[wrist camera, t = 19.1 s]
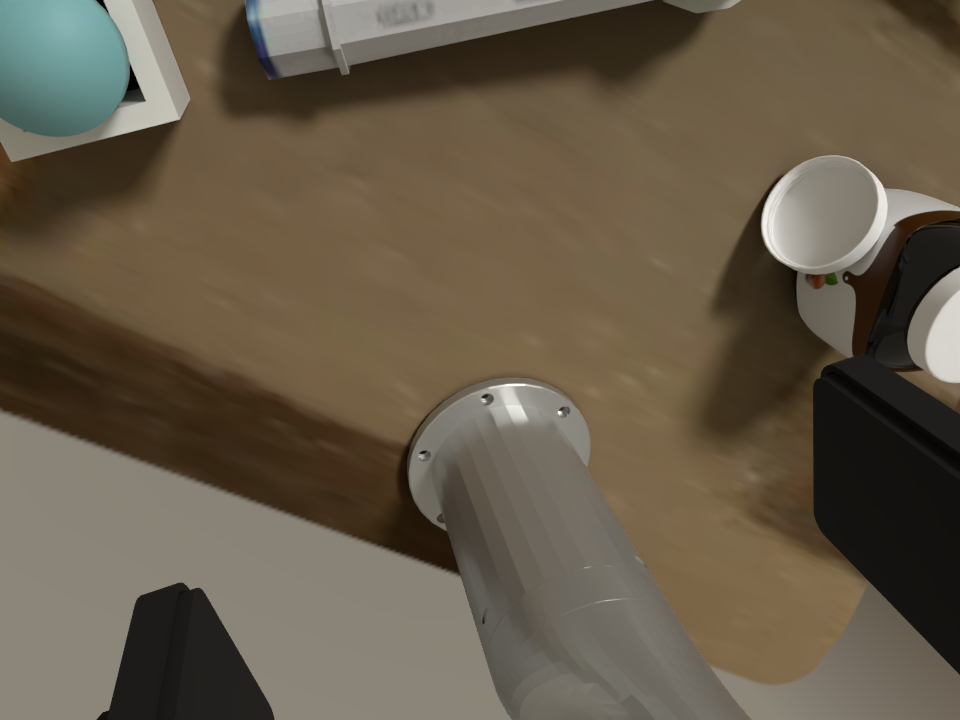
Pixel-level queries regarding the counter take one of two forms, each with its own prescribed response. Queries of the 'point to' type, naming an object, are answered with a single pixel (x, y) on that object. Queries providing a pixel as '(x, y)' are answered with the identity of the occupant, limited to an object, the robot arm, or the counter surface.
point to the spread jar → (870, 264)
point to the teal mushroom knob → (60, 65)
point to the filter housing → (139, 107)
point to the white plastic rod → (399, 26)
